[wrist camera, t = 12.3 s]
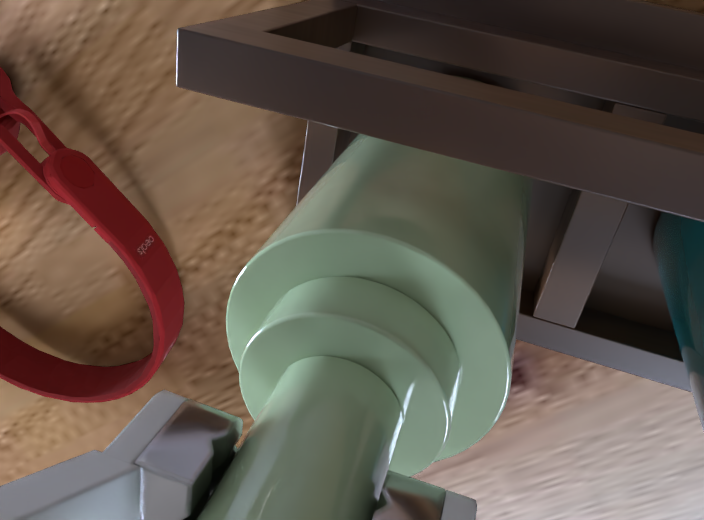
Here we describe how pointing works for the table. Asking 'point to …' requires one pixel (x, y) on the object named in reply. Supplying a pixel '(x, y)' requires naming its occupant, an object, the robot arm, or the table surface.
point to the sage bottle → (373, 331)
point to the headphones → (126, 240)
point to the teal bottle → (684, 291)
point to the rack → (506, 131)
